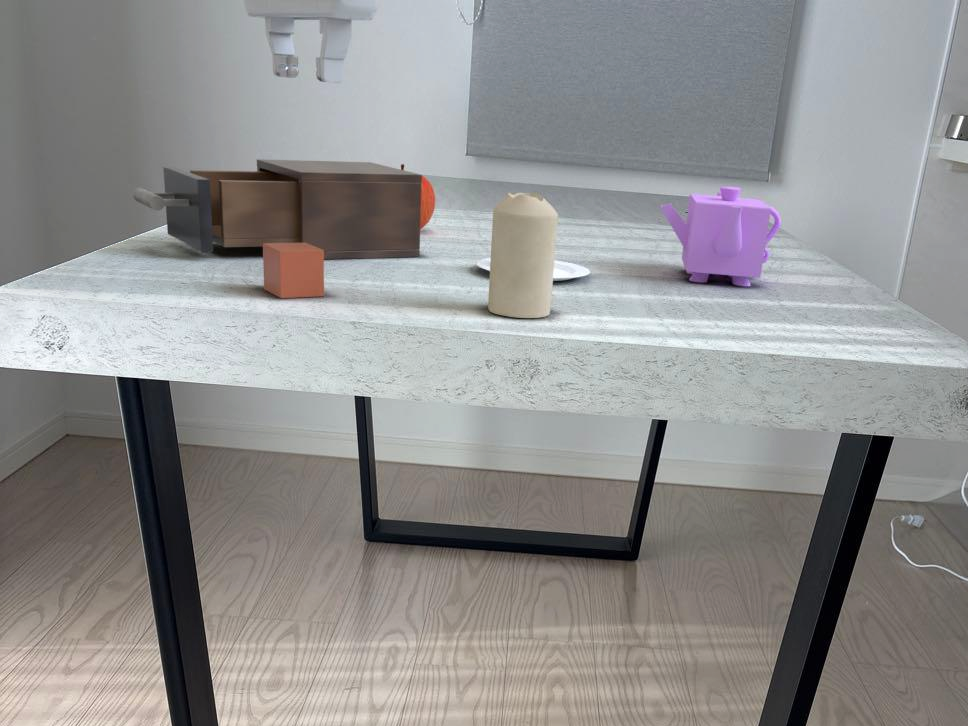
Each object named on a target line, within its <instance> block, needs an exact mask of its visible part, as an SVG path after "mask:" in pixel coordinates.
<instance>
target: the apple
mask: <svg viewBox="0 0 968 726" xmlns="http://www.w3.org/2000/svg"><path fill="white" fill-rule="evenodd" d="M400 170H404V171H405V164H404V163H401V164H400ZM421 183H422V184H421V220H420V230H421V229H423V228H424V227H425V226H426V225H428V223H429V222H430V220H431V219H432V216H433V215H434V211H435V206H436V194H435V190H434V187H433V185H432V183H431V182H430V181H429V179H428V178H426V176H424V175H422V182H421Z"/></svg>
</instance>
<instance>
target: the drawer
mask: <svg viewBox="0 0 968 726" xmlns="http://www.w3.org/2000/svg"><path fill="white" fill-rule="evenodd" d="M163 183H164V192H152V191H149V190H147V189H144V188H142V187H137V188H135V190H134V191H133V193H132V196H133V199H134V200H135V201H136V202H137V203H139V204H141V205H143V206H146V207H147V208H149V209H152V210H154V211H158V212H159V211H161V210H162V209H163V208H164V207H165V214H166V228H167V235H169V236H171V237H173V238H174V239H177V240H178V241H180V242H182V243H184V244H186V245H187V246H189V247H192V248H194V249H195V250H197V251H199V252H201V253H212V252H214V244H216V245H219V246H222V247H223V248H257V247H258V248H259V247H260V248H261V247H262V248H263V243H300V232H299V180H298V179H295V178H291V177H288V176H285V175H282V174H278V173H275V172H269V171H257V170H221V169H220V170H215V169H211V170H210V169H207V170H206V169H189V171H187V170H184V169H181V168H179V167H176V166H163Z"/></svg>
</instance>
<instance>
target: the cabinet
mask: <svg viewBox="0 0 968 726" xmlns="http://www.w3.org/2000/svg"><path fill="white" fill-rule="evenodd" d="M256 171H269V172H275V173H278V174H282V175H285V176H288V177H291V178H295V179H298V180H299V232H300V243H308V244H310V245H313V246H315V247H317V248H320V249H322V250H324V260H348V259H349V260H350V259H352V260H353V259H383V258H384V259H388V258H420V253H421V251H420V249H421V229H420V220H421V184H422V183H421V182H422V176H423V175H422V174H420V173H416V172H413V171H407V170H405V169H404V170H401V168H400V169H399V168H396V167H392V166H388V165H383V164H380V163H379V164H378V163H376V162H370V161H369V162H368V161H333V160H332V161H331V160H298V159H297V160H294V159H263V158H262V159H258V158H257V159H256Z"/></svg>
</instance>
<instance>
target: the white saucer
mask: <svg viewBox="0 0 968 726" xmlns="http://www.w3.org/2000/svg"><path fill="white" fill-rule="evenodd" d="M490 261H491V257H485V258H482V259H479V260H477V261H476V262H475V264H476V266H477V267H479V268H480V269H482V270H485V271H488V272H489V273H490ZM590 273H591V270H590V269H589V268H587V267H585V266H583V265H580V264H576V263H573V262H569V261H568V262H567V261H562V260H557V259H555V260H554V272H553V282H559V281H561V282H562V281H567V280H568V281H569V280H572V279H575V278H582V277H585V276H587V275H589V274H590Z"/></svg>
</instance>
